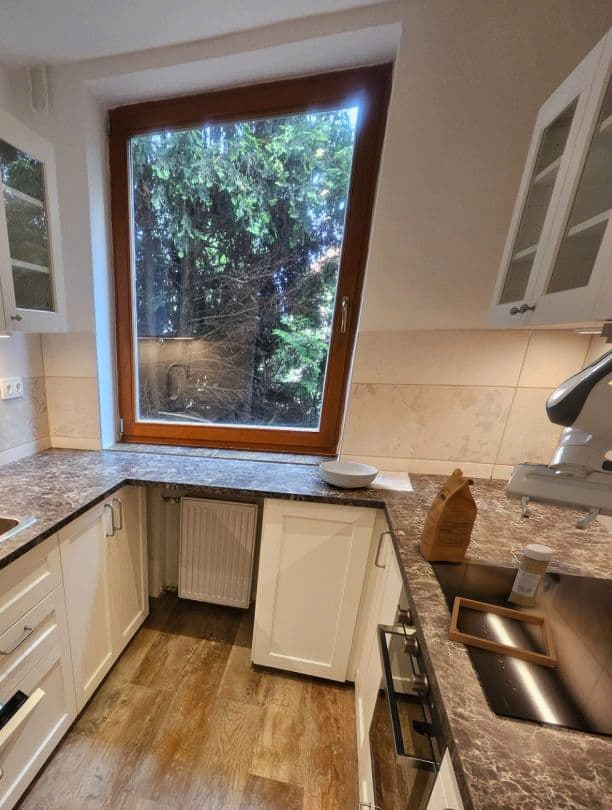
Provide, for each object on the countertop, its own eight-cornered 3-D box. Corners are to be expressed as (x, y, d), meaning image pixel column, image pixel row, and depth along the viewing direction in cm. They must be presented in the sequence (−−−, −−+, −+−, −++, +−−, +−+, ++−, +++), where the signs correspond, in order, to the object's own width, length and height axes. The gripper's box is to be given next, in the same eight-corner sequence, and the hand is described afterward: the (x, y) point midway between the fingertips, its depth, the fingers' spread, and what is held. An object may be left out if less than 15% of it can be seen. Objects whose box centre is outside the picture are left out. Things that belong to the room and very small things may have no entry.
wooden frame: (544, 629, 91) (549, 618, 90) (551, 673, 80) (556, 660, 78) (452, 606, 99) (455, 596, 98) (446, 643, 87) (450, 632, 86)
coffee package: (456, 548, 126) (479, 468, 117) (466, 567, 116) (492, 481, 107) (415, 543, 129) (434, 464, 120) (421, 562, 119) (442, 477, 110)
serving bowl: (368, 496, 168) (372, 477, 165) (310, 487, 178) (312, 469, 175) (379, 482, 183) (383, 465, 181) (325, 474, 194) (328, 458, 191)
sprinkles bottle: (537, 608, 99) (560, 549, 93) (524, 613, 97) (546, 554, 91) (514, 598, 102) (535, 541, 97) (501, 602, 101) (521, 545, 95)
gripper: (517, 452, 106) (495, 504, 104) (640, 468, 94) (618, 527, 91) (514, 468, 111) (493, 517, 109) (631, 485, 99) (610, 541, 96)
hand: (551, 522), depth 100 cm, fingers open, 8 cm apart
